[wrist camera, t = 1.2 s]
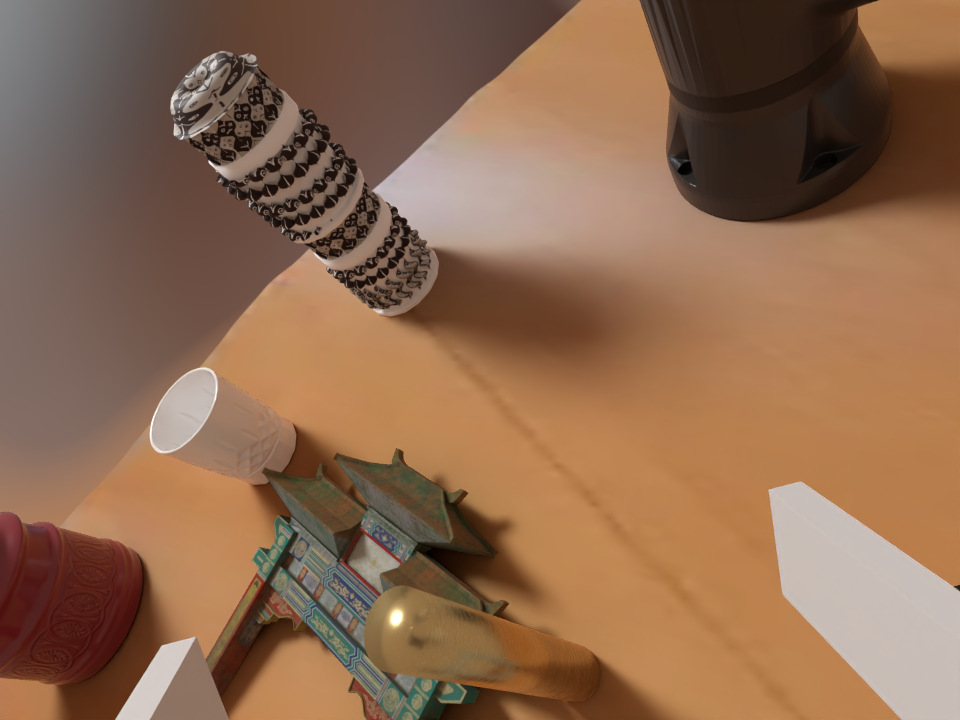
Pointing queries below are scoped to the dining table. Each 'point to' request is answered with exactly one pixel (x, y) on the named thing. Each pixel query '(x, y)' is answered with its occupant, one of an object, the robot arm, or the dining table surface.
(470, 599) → the miniature gate
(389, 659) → the latch post
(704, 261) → the dining table surface
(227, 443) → the white cup
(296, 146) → the decorative candle
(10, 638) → the canister
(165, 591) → the dining table surface
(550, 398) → the dining table surface
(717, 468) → the dining table surface
